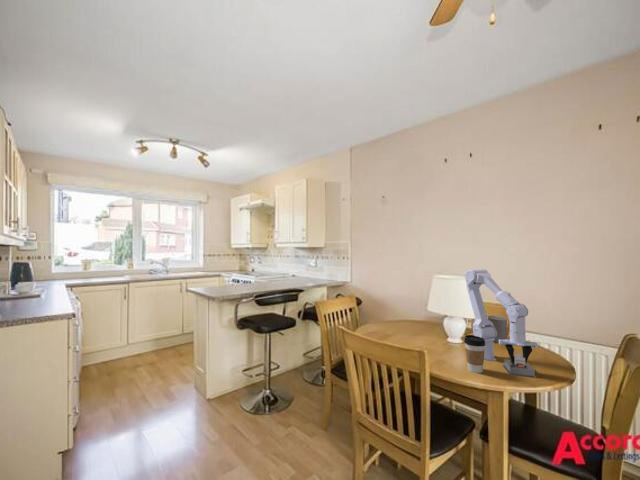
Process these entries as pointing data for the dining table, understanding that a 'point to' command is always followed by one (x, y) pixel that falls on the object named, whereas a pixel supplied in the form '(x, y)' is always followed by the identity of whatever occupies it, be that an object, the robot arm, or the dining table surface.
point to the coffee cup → (474, 353)
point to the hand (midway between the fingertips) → (518, 362)
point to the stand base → (519, 369)
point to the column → (519, 360)
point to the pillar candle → (499, 327)
